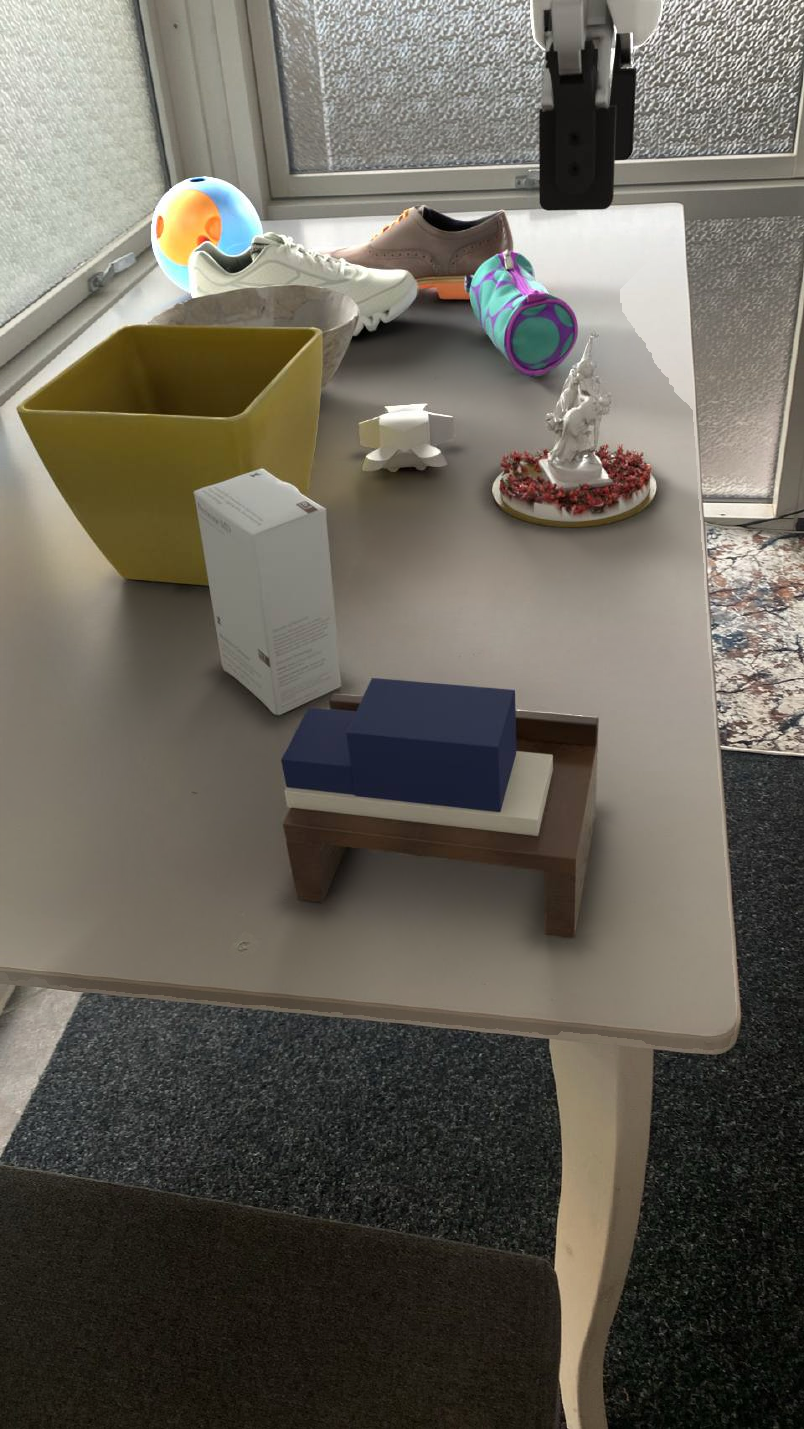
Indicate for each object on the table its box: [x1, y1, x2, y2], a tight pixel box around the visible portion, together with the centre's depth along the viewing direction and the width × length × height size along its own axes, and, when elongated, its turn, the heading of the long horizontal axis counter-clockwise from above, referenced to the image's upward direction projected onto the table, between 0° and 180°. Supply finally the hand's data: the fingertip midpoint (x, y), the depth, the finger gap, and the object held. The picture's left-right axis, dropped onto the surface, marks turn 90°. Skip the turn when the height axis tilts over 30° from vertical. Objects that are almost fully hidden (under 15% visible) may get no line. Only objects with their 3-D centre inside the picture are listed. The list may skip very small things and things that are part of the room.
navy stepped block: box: [280, 677, 553, 836], centre depth 61 cm, size 14×5×6 cm, turn 76°
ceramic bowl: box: [146, 285, 359, 390], centre depth 123 cm, size 22×23×10 cm
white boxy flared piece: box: [358, 403, 455, 473], centre depth 109 cm, size 10×5×15 cm
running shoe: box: [189, 232, 420, 337], centre depth 141 cm, size 11×30×12 cm, turn 89°
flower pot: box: [15, 323, 322, 587], centre depth 94 cm, size 19×19×17 cm
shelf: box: [282, 693, 600, 938], centre depth 64 cm, size 16×10×8 cm, turn 76°
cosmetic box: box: [194, 469, 343, 716], centre depth 78 cm, size 8×6×15 cm
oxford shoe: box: [307, 204, 515, 300], centre depth 152 cm, size 11×31×11 cm, turn 79°
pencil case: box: [464, 250, 579, 377], centre depth 131 cm, size 21×9×10 cm, turn 10°
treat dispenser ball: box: [150, 176, 264, 294], centre depth 157 cm, size 16×15×15 cm
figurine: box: [491, 331, 658, 528], centre depth 99 cm, size 15×15×14 cm
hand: (589, 182), depth 53 cm, fingers open, 9 cm apart
